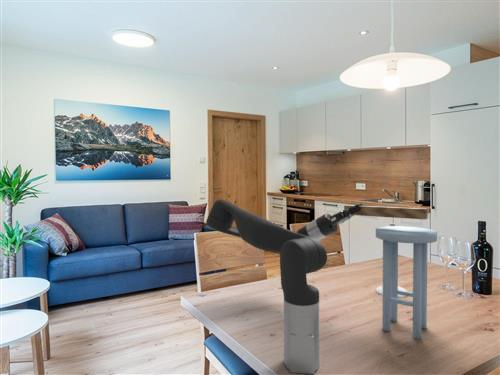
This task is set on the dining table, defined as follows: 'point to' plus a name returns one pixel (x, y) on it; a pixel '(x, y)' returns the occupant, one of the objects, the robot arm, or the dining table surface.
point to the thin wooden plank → (391, 212)
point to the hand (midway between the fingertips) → (361, 206)
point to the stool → (390, 273)
